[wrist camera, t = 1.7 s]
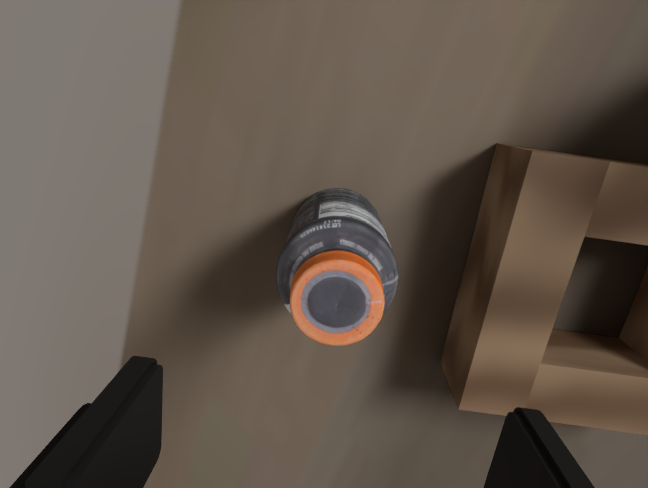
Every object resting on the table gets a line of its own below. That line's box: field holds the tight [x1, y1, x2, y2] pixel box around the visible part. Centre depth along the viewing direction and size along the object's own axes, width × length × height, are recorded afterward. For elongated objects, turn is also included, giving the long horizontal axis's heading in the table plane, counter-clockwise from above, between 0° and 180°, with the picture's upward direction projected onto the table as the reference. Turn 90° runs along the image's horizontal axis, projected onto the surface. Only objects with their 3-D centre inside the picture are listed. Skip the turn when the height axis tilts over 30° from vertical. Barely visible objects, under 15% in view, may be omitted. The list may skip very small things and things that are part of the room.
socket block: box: [440, 143, 648, 435], centre depth 26 cm, size 16×16×5 cm
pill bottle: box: [276, 188, 399, 346], centre depth 22 cm, size 6×6×11 cm
